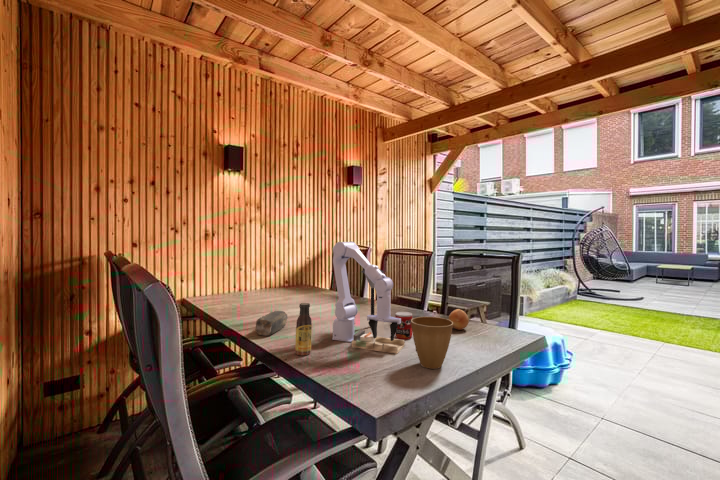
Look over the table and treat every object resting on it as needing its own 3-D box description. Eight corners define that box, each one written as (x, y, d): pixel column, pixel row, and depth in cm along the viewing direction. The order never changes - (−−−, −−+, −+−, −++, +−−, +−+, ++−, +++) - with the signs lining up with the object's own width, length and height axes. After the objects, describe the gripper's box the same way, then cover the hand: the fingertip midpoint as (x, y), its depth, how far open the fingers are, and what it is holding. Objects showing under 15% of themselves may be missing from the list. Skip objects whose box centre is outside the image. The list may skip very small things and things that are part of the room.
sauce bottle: (298, 357, 130) (297, 305, 130) (293, 352, 135) (293, 303, 135) (314, 354, 133) (314, 304, 133) (308, 349, 138) (308, 301, 138)
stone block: (287, 327, 176) (268, 325, 176) (288, 310, 176) (269, 308, 176) (274, 338, 156) (253, 336, 156) (275, 319, 156) (254, 317, 156)
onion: (445, 327, 173) (445, 307, 173) (463, 326, 174) (463, 307, 174) (452, 332, 163) (452, 311, 163) (472, 331, 164) (472, 311, 164)
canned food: (393, 338, 153) (393, 314, 153) (398, 334, 161) (398, 311, 160) (409, 340, 150) (409, 316, 150) (413, 335, 158) (414, 312, 158)
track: (351, 346, 142) (351, 335, 142) (361, 340, 151) (361, 329, 151) (397, 353, 134) (397, 341, 134) (404, 346, 143) (404, 334, 143)
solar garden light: (358, 329, 169) (358, 269, 168) (362, 323, 181) (362, 267, 180) (383, 330, 167) (383, 269, 166) (385, 324, 179) (385, 267, 178)
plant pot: (445, 376, 112) (445, 328, 112) (404, 367, 120) (404, 322, 120) (458, 362, 124) (458, 319, 124) (420, 355, 132) (420, 314, 132)
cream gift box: (359, 344, 143) (359, 335, 143) (365, 340, 148) (365, 331, 148) (370, 345, 141) (370, 336, 141) (375, 341, 146) (375, 332, 146)
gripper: (364, 306, 141) (363, 339, 141) (397, 310, 135) (397, 344, 135) (370, 303, 147) (370, 334, 147) (402, 306, 141) (402, 339, 141)
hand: (383, 338), depth 141 cm, fingers open, 7 cm apart
